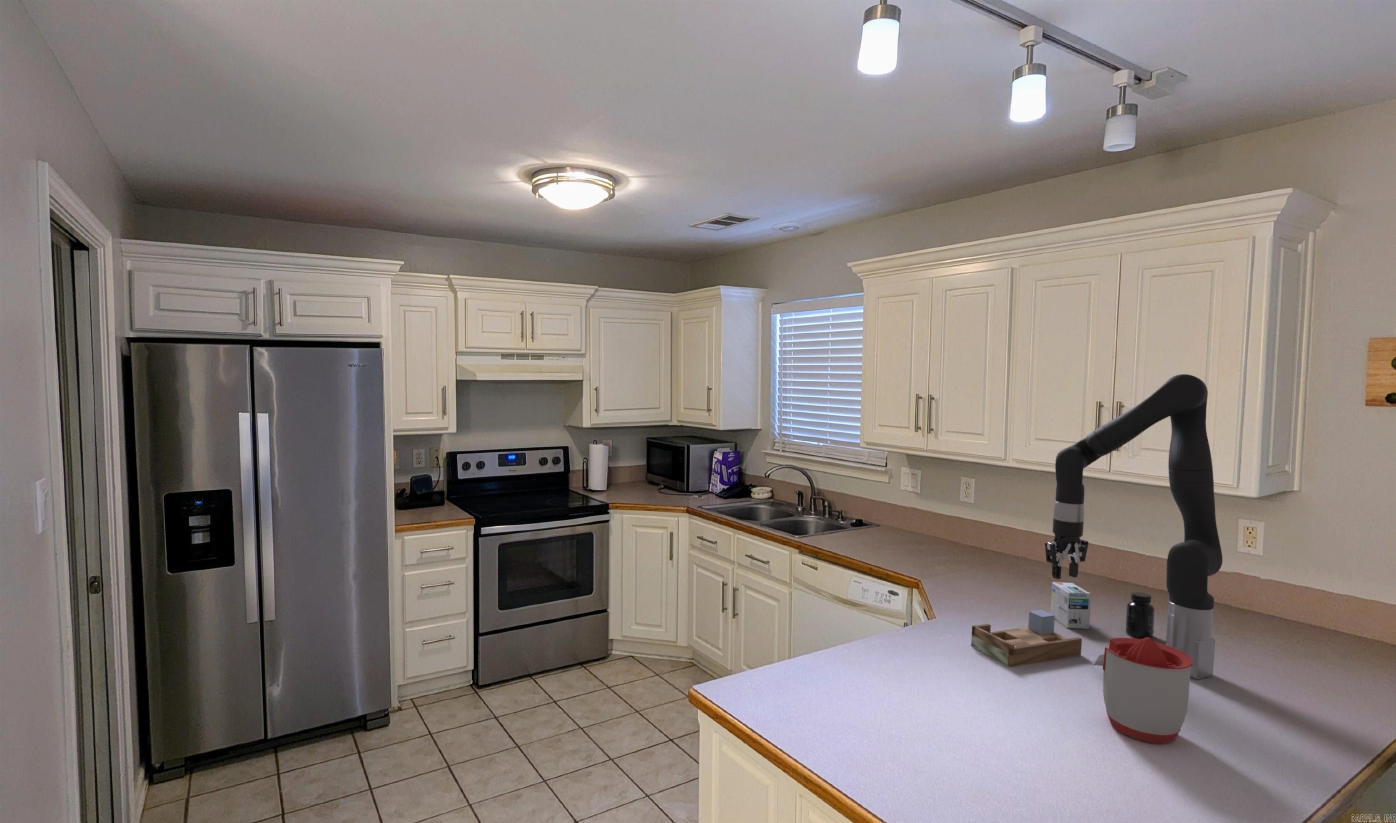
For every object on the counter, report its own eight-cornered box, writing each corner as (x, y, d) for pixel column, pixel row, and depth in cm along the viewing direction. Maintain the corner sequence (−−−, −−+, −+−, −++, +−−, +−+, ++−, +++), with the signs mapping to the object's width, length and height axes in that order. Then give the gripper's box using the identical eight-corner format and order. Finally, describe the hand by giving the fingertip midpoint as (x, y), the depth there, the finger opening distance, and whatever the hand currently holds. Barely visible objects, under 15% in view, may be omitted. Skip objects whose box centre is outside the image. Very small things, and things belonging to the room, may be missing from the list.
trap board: (1080, 654, 185) (1082, 634, 185) (1010, 666, 177) (1011, 645, 176) (1038, 635, 198) (1039, 616, 198) (971, 645, 190) (972, 625, 189)
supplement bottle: (1145, 631, 204) (1147, 591, 203) (1158, 640, 197) (1161, 598, 196) (1120, 629, 204) (1123, 589, 203) (1132, 638, 197) (1135, 597, 197)
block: (1053, 632, 192) (1054, 615, 192) (1041, 634, 191) (1042, 616, 190) (1040, 627, 197) (1041, 609, 196) (1028, 628, 195) (1029, 611, 195)
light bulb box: (1090, 629, 204) (1092, 593, 204) (1066, 628, 204) (1069, 592, 204) (1071, 616, 215) (1073, 582, 214) (1049, 615, 215) (1051, 581, 214)
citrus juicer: (1097, 702, 159) (1102, 616, 157) (1190, 728, 148) (1197, 636, 146) (1083, 728, 146) (1088, 635, 145) (1183, 759, 135) (1190, 659, 134)
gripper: (1060, 522, 188) (1056, 583, 189) (1099, 519, 193) (1095, 579, 195) (1037, 516, 195) (1034, 575, 196) (1076, 513, 200) (1072, 571, 202)
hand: (1064, 577), depth 196 cm, fingers open, 5 cm apart
